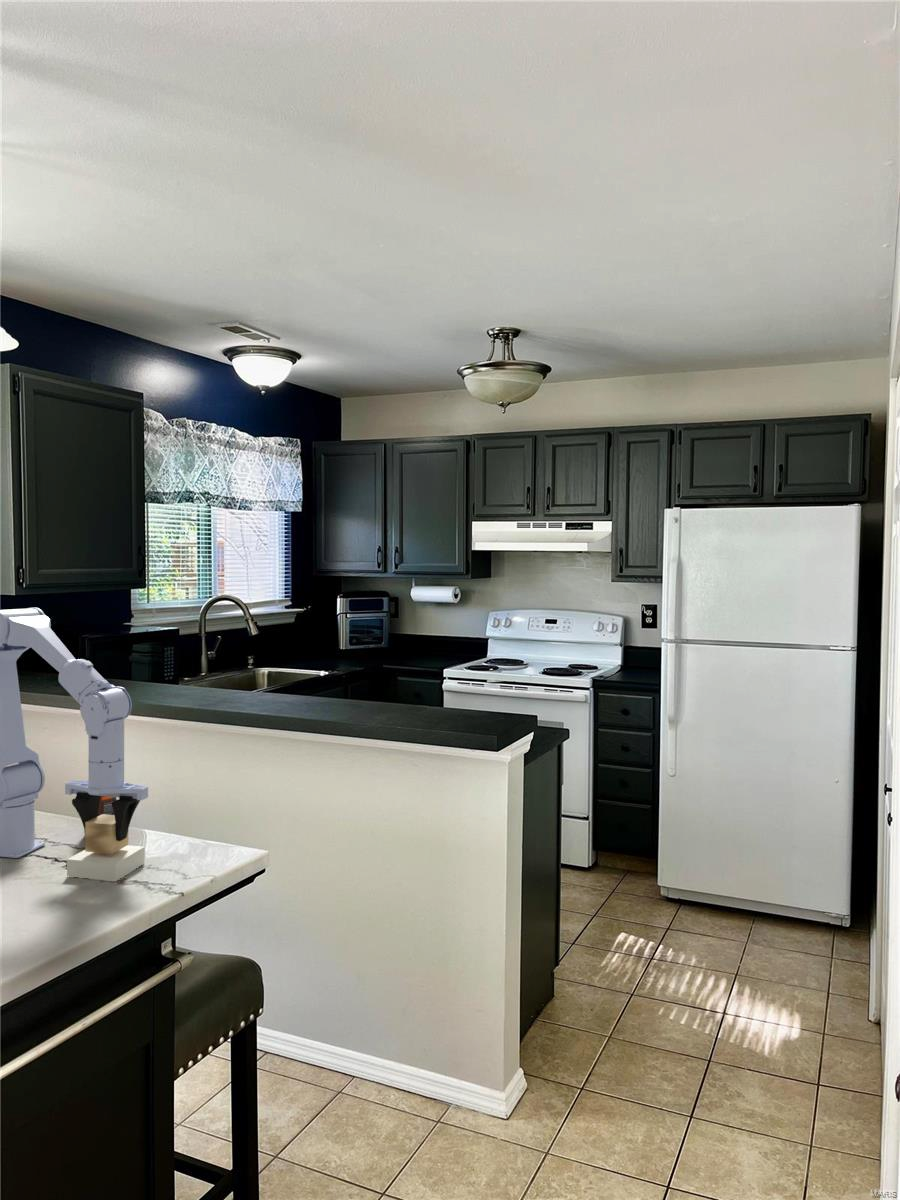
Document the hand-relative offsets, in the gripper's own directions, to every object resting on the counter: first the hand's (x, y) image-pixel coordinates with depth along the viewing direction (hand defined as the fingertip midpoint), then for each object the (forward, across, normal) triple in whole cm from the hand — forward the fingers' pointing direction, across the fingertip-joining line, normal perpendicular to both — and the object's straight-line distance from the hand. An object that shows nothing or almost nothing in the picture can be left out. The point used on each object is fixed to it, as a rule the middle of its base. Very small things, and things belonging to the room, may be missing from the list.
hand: (106, 837), depth 154 cm
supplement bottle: (+6, -12, +17) cm, 22 cm away
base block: (+6, 0, 0) cm, 6 cm away
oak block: (+2, 0, 0) cm, 2 cm away
